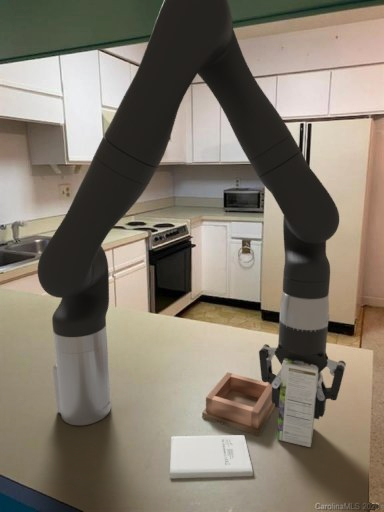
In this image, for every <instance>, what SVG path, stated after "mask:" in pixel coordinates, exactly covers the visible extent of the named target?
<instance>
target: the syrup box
mask: <svg viewBox="0 0 384 512" xmlns="http://www.w3.org/2000/svg"><path fill="white" fill-rule="evenodd" d="M287 360H288V359H287V358H284V360H283V363H282V365H281V368H282V369H281V368H280V370H281V383H280V397H279V408H278V412H277V413H278V414H277V428H276V440H278V441H280V442H281V441H282V442H286V443H291V444H295V445H298V446H303V447H307V448H311V447H312V442H313V435H314V427H315V420H316V419H315V418H314V414H315V403H316V397H317V396H316V391H317V380H318V376H319V374H318V367H317V366H316V365H313V364H310V366H308V365H304V364H303V363H304V362H303V361H299V360H294V361H293V362H291V361H287Z"/></svg>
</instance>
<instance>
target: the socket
mask: <svg viewBox="0 0 384 512" xmlns="http://www.w3.org/2000/svg"><path fill="white" fill-rule="evenodd" d="M275 408H276V407H275V403H272V386H271V384H270V383H268V382H263V381H262V380H258V379H254V378H249V377H246V376H243V375H239V374H235V373H232V372H228V371H227V372H226V373H225V374H224V376H223V377H222V378H221V379H220V381H218V382H217V384H216V385H214V388H212V389H211V391H210V392H209V393H208V394H207V395H206V397H205V408H204V410H203V411H202V412H201V417H202V418H203V419H206V420H209V421H212V422H215V423H218V424H222V425H224V426H228V427H230V428H233V429H237V430H240V431H243V432H246V433H248V434H251V435H255V436H257V437H260V436H261V434H262V432H263V430H264V428H265V426H266V425H267V422H268V421H269V419H270V417H271V415H272V413H273V411H274V409H275Z"/></svg>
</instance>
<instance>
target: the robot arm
mask: <svg viewBox="0 0 384 512" xmlns="http://www.w3.org/2000/svg"><path fill="white" fill-rule="evenodd" d="M233 25H234V23H233V16H232V13H231V8H230V5H229V1H228V0H163V3H162V4H161V7H160V10H159V12H158V15H157V18H156V20H155V23H154V26H153V28H152V32H151V34H150V37H149V40H148V42H147V45H146V48H145V50H144V54H143V56H142V59H141V61H140V64H139V66H138V68H137V71H136V73H135V75H134V77H133V79H132V80H131V83H130V84H129V85H128V88H127V90H125V91H126V92H125V93H124V95H123V97H122V99H121V102H120V103H119V105H118V107H117V109H116V111H115V113H114V116H113V118H112V119H111V121H110V123H109V125H108V127H107V129H106V130H105V132H104V135H103V136H102V138H101V141H100V142H99V144H98V147H97V148H96V151H95V153H94V156H93V157H92V159H91V162H90V164H89V166H88V169H87V171H86V172H85V175H84V178H83V179H82V181H81V183H80V184H79V187H78V188H77V189H78V190H77V192H76V193H75V195H74V198H73V200H72V203H71V205H70V206H69V209H68V211H67V213H65V216H64V217H63V219H62V221H61V223H60V225H59V226H57V229H56V230H55V232H54V233H53V235H52V237H51V238H50V239H49V241H48V242H47V243H46V246H45V248H43V251H42V253H41V255H40V256H39V260H38V263H37V278H38V281H39V284H40V287H41V288H42V289H43V291H45V293H46V294H48V295H49V296H51V297H55V298H60V299H61V300H60V303H59V304H58V306H57V308H56V309H55V311H54V312H53V314H52V319H51V321H52V323H51V324H52V332H53V342H54V351H55V352H54V353H55V363H56V364H54V365H53V367H52V371H53V381H54V390H55V391H54V392H55V401H56V412H57V413H59V414H60V415H61V419H62V420H63V421H64V422H65V423H67V424H69V425H72V426H88V425H92V424H95V423H97V422H100V421H102V420H103V419H104V418H105V417H107V415H109V413H110V412H111V408H112V404H111V403H112V402H111V401H112V399H111V384H110V369H109V368H110V366H109V365H110V364H109V349H108V336H107V335H108V334H107V320H106V319H107V312H108V310H109V305H110V285H109V284H110V277H109V275H110V271H109V262H108V258H107V254H106V251H105V250H104V248H103V246H102V245H103V242H104V241H105V239H106V237H107V236H108V234H109V233H110V232H111V231H112V230H113V228H114V227H115V226H116V225H117V224H118V222H120V220H121V219H122V218H123V217H124V216H125V215H126V214H127V213H128V212H129V211H130V210H131V208H132V207H133V206H134V205H135V204H136V202H137V201H138V200H139V199H140V197H141V196H142V195H143V193H144V192H145V190H146V189H147V187H148V185H149V184H150V182H151V180H152V178H153V176H154V175H155V173H156V171H157V169H158V167H159V166H160V164H161V162H162V160H163V157H164V155H165V153H166V151H167V148H168V145H169V141H170V139H171V135H172V133H173V129H174V125H175V122H176V119H177V116H178V115H177V114H178V112H179V108H180V106H181V103H182V102H183V100H184V97H185V95H186V94H187V91H188V89H189V88H190V87H191V84H192V83H193V82H194V80H195V78H196V77H197V75H198V76H199V78H201V80H202V81H203V82H204V83H205V84H206V87H208V88H209V90H210V91H211V94H213V96H214V97H215V99H216V101H217V102H218V104H219V106H220V107H221V109H222V111H223V113H224V115H225V116H226V119H227V121H228V123H229V125H230V127H231V129H232V131H233V133H234V136H235V138H236V140H237V141H238V143H239V145H240V147H241V150H242V151H243V153H244V154H245V156H246V158H247V160H248V162H249V163H250V165H251V167H252V168H253V170H254V172H255V173H256V175H257V176H258V178H259V180H260V181H261V182H262V184H263V185H264V187H265V188H266V189H267V190H268V191H269V192H270V194H271V195H272V197H273V198H274V200H275V202H276V203H277V205H278V208H279V209H280V211H281V213H282V214H283V223H282V224H283V226H282V227H283V228H282V230H283V231H282V232H283V248H284V265H283V266H284V267H283V279H282V293H281V299H280V305H279V306H280V307H279V322H278V323H279V325H278V345H277V347H270V344H264V345H263V346H262V347H261V349H260V350H259V351H258V357H259V364H260V365H259V367H260V368H259V369H260V375H261V381H263V382H266V383H270V384H271V386H272V403H275V408H277V409H279V397H280V383H281V369H282V367H281V368H280V369H279V371H278V373H277V374H275V373H273V365H272V360H273V359H274V356H275V357H276V359H277V360H278V362H279V363H280V366H282V363H283V360H284V358H287V359H288V360H287V361H291V362H293V361H294V360H299V361H303V362H304V363H303V364H304V365H308V366H310V364H313V365H316V366H317V367H318V374H319V376H318V380H317V391H316V396H317V397H316V403H315V414H314V418H315V419H314V420H320V417H321V418H323V416H324V415H325V411H326V403H327V400H331V401H336V400H337V399H338V397H339V396H338V395H339V393H340V389H341V385H342V381H343V377H344V373H345V370H346V364H347V363H346V362H345V361H344V360H339V361H335V360H333V359H330V358H329V356H328V355H327V341H328V340H327V339H328V330H329V329H328V328H329V321H330V301H329V300H330V299H329V297H330V296H329V294H330V280H331V265H330V262H329V259H328V257H327V241H328V240H330V239H331V238H332V237H333V236H334V235H335V234H336V232H337V230H338V228H339V226H340V212H339V209H338V207H337V205H336V203H335V201H334V199H333V197H332V195H331V194H330V193H329V192H328V189H326V187H325V186H324V184H323V183H322V182H321V180H320V179H319V178H318V176H317V175H316V173H315V172H314V171H313V170H312V169H311V167H310V166H309V164H308V162H307V160H306V158H305V156H304V154H303V152H302V151H301V148H300V147H299V145H298V143H297V141H296V140H295V138H294V136H293V135H292V132H291V131H290V129H289V127H288V126H287V124H286V122H285V120H283V118H282V116H281V115H280V114H279V112H278V111H277V109H276V107H275V106H274V104H273V103H272V102H271V101H270V99H269V98H268V97H267V96H266V95H267V94H265V92H264V91H263V89H262V88H261V86H260V85H259V83H258V82H257V80H256V78H255V77H254V75H253V72H252V71H251V70H250V67H249V65H248V63H247V61H246V59H245V57H244V55H243V52H242V48H241V46H240V44H239V41H238V39H237V36H236V33H235V29H234V26H233ZM326 368H328V370H329V374H330V375H331V376H332V377H333V378H332V382H331V387H327V386H326V383H325V381H324V376H323V374H322V371H324V369H326Z"/></svg>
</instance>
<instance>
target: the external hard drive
mask: <svg viewBox="0 0 384 512" xmlns="http://www.w3.org/2000/svg"><path fill="white" fill-rule="evenodd" d="M169 463H170V464H169V466H170V467H169V479H193V478H196V479H197V478H224V477H226V478H229V477H230V478H231V477H233V478H234V477H253V475H254V474H253V473H254V471H253V466H252V462H251V458H250V454H249V449H248V445H247V441H246V437H245V435H244V434H242V435H241V434H240V435H239V434H238V435H236V434H235V435H232V434H231V435H229V434H228V435H185V436H183V435H179V436H176V435H175V436H173V435H172V436H171V438H170V462H169Z"/></svg>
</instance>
